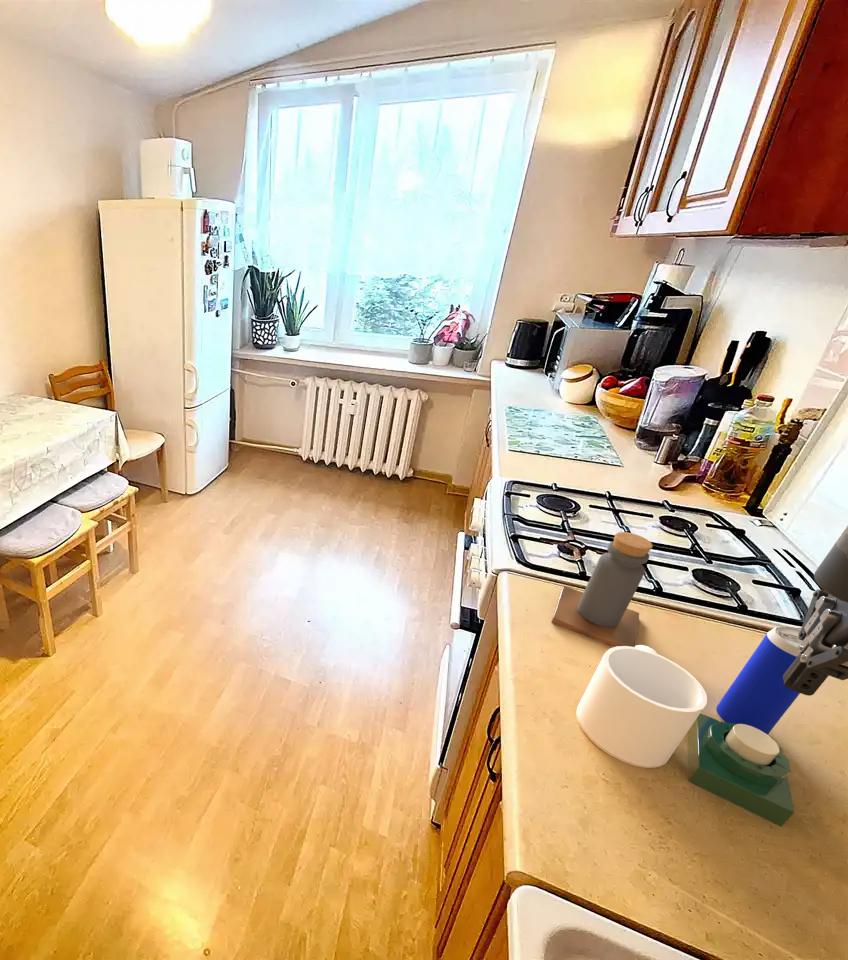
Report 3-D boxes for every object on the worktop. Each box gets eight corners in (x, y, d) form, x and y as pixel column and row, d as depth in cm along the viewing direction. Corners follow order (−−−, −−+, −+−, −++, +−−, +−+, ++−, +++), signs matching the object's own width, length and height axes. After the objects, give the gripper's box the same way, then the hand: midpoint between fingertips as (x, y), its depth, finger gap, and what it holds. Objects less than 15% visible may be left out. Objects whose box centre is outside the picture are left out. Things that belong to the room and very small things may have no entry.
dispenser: (687, 725, 69) (703, 701, 67) (770, 761, 64) (790, 738, 62) (688, 781, 62) (706, 757, 60) (781, 827, 57) (803, 802, 55)
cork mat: (637, 617, 87) (639, 612, 87) (632, 655, 80) (635, 650, 79) (561, 589, 93) (563, 585, 93) (551, 622, 86) (553, 617, 85)
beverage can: (759, 717, 70) (821, 634, 63) (771, 747, 66) (840, 662, 59) (709, 700, 72) (765, 618, 65) (719, 728, 68) (779, 644, 61)
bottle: (584, 623, 84) (620, 547, 77) (571, 600, 89) (604, 527, 82) (625, 630, 83) (665, 553, 76) (610, 606, 88) (646, 532, 81)
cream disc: (723, 728, 64) (731, 717, 63) (768, 748, 61) (777, 736, 60) (725, 751, 61) (734, 740, 60) (772, 773, 59) (782, 761, 58)
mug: (673, 785, 61) (714, 727, 57) (574, 741, 66) (604, 685, 61) (663, 710, 71) (697, 655, 66) (576, 677, 76) (602, 623, 71)
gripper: (991, 612, 42) (861, 751, 50) (935, 542, 51) (833, 668, 59) (854, 574, 46) (754, 708, 54) (825, 515, 55) (744, 637, 63)
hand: (795, 687), depth 56 cm, fingers closed
